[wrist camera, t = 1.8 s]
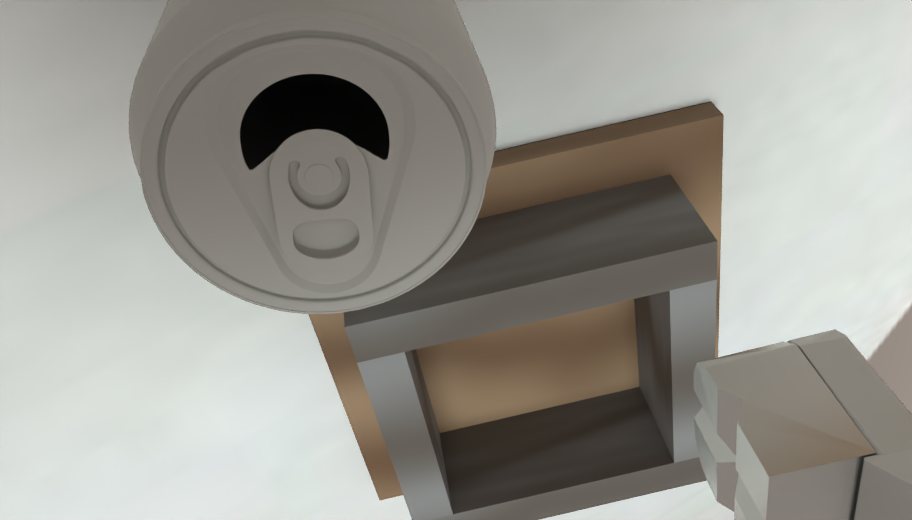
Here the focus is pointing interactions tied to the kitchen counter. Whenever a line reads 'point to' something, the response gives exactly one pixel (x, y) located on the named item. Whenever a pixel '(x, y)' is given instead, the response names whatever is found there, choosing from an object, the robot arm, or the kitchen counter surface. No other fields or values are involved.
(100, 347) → the kitchen counter surface
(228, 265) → the beverage can
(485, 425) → the collar plate
